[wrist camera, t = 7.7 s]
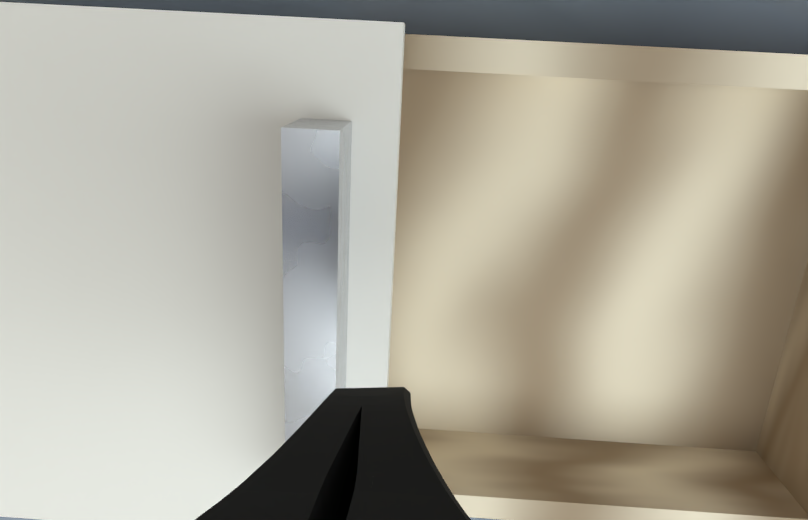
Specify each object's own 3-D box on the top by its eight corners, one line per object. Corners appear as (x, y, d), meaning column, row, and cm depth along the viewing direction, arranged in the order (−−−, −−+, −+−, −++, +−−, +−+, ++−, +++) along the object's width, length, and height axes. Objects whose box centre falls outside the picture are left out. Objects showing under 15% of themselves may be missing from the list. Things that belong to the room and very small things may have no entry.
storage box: (875, 62, 18) (992, 64, 14) (764, 461, 23) (831, 542, 19) (338, 34, 19) (314, 29, 15) (332, 431, 23) (313, 506, 19)
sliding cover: (405, 24, 14) (399, 17, 12) (381, 524, 19) (373, 600, 16) (-276, -11, 15) (-432, -26, 12) (-139, 486, 19) (-229, 555, 17)
